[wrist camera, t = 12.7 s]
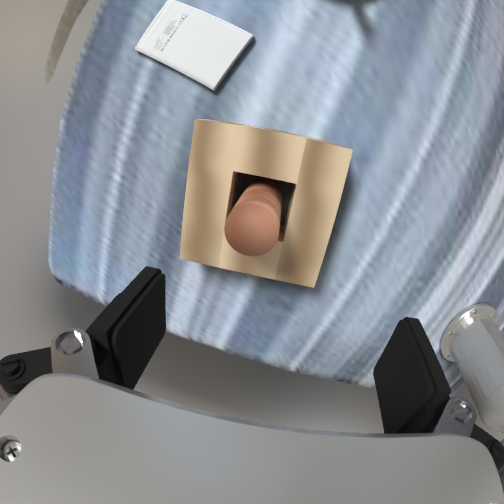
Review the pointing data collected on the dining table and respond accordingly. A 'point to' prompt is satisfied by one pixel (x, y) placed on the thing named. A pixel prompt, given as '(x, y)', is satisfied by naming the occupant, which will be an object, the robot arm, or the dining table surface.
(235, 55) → the external hard drive
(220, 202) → the socket block
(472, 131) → the dining table surface
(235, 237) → the peg
